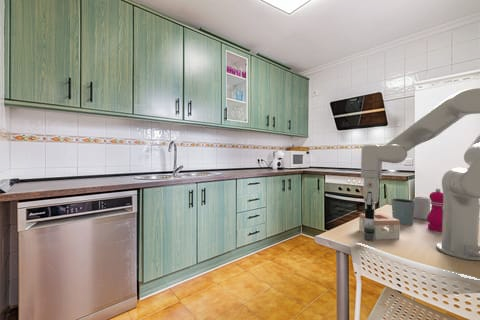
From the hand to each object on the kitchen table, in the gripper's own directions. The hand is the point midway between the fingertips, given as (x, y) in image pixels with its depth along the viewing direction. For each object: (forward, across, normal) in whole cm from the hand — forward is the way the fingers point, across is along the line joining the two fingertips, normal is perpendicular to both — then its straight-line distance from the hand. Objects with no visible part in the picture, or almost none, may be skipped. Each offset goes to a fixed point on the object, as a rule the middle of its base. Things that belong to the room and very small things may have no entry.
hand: (369, 217), depth 93 cm
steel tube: (+10, 0, 0) cm, 10 cm away
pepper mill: (+10, +34, -26) cm, 44 cm away
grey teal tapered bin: (+10, +37, -13) cm, 40 cm away
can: (+10, +52, -22) cm, 58 cm away
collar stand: (+10, +10, -3) cm, 14 cm away
